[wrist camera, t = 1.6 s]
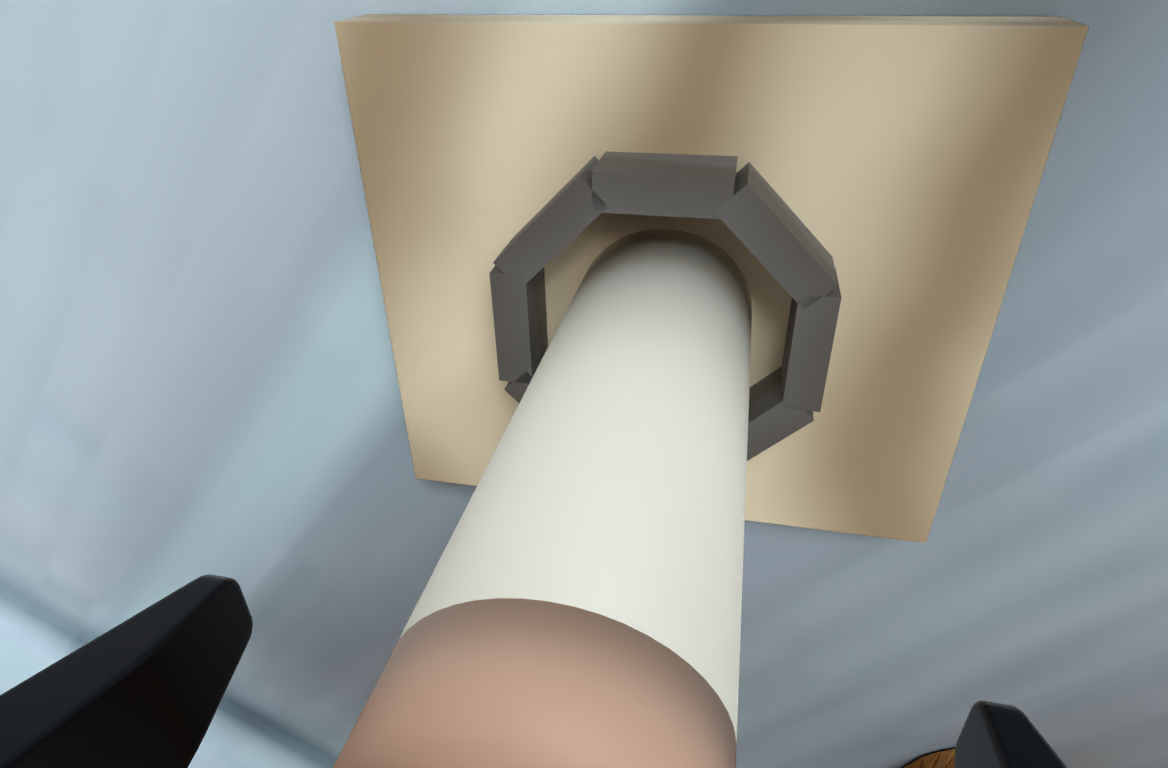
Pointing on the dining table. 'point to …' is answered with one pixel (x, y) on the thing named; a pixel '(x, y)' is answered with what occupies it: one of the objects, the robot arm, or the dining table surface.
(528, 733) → the peg
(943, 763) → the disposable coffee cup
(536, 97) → the eye plate
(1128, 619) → the dining table surface
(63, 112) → the dining table surface
